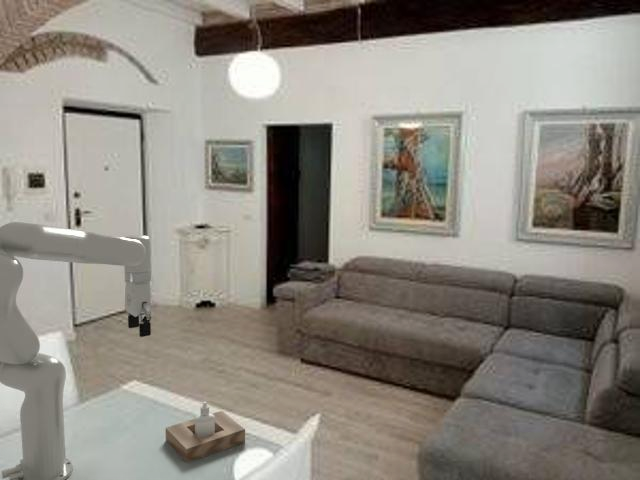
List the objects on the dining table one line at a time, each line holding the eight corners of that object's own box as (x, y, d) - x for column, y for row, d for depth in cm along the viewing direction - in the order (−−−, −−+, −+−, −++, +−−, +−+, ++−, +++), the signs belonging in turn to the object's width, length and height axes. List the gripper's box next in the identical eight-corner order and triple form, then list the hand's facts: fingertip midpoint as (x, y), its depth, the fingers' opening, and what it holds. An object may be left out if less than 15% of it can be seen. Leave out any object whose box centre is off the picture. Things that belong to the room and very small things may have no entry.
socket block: (186, 462, 141) (186, 449, 140) (165, 440, 151) (165, 427, 151) (245, 442, 152) (245, 429, 151) (221, 422, 163) (221, 410, 162)
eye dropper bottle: (211, 446, 149) (211, 406, 147) (192, 444, 150) (192, 404, 148) (217, 438, 153) (216, 400, 151) (198, 436, 154) (198, 398, 152)
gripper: (115, 272, 162) (117, 326, 164) (135, 283, 148) (136, 341, 151) (140, 270, 166) (141, 322, 169) (161, 280, 153) (162, 337, 155)
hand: (139, 331), depth 160 cm, fingers open, 9 cm apart
